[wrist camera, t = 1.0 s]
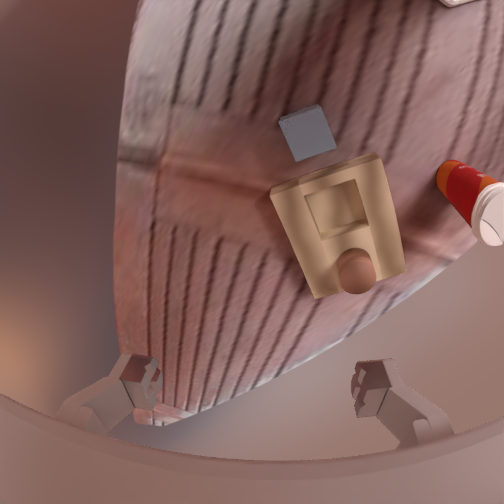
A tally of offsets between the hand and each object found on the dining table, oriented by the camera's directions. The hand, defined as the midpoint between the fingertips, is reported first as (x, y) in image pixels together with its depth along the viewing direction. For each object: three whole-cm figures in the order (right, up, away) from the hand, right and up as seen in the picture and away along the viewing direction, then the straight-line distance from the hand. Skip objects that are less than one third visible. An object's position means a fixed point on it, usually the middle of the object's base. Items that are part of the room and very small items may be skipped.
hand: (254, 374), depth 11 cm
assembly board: (+13, +9, +31) cm, 35 cm away
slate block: (+7, +21, +24) cm, 33 cm away
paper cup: (+29, +16, +24) cm, 41 cm away
